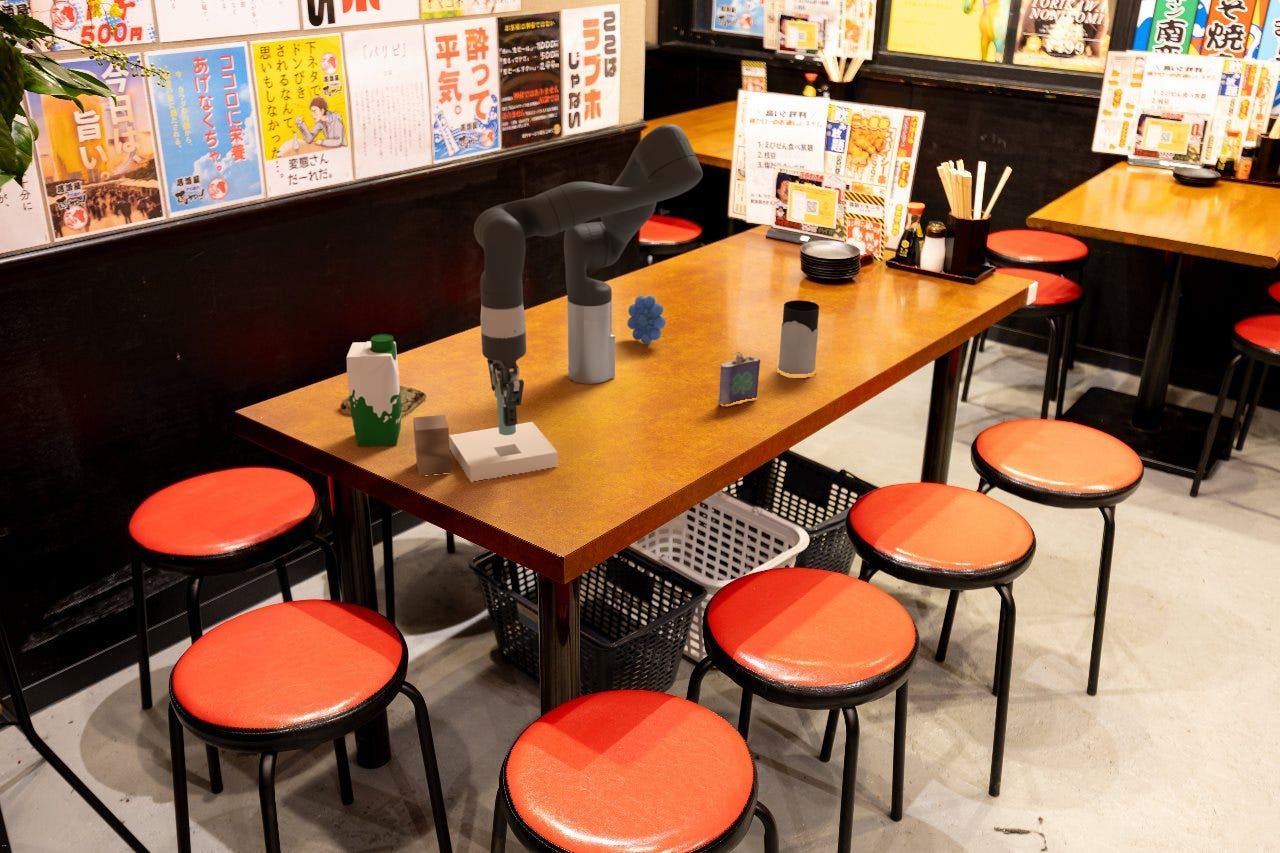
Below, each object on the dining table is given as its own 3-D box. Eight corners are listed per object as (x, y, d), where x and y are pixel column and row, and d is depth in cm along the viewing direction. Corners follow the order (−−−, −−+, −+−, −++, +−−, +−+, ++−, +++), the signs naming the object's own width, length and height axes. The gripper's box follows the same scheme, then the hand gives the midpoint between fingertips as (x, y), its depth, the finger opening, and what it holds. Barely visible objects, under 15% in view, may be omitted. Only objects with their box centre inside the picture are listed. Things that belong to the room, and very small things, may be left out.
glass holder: (770, 374, 243) (775, 308, 237) (791, 353, 255) (796, 290, 248) (809, 381, 240) (815, 314, 233) (829, 360, 251) (834, 295, 245)
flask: (723, 409, 226) (725, 359, 221) (714, 404, 228) (717, 354, 224) (760, 400, 230) (763, 351, 226) (751, 395, 232) (754, 346, 228)
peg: (512, 426, 200) (510, 380, 197) (518, 433, 198) (515, 386, 194) (496, 429, 199) (493, 383, 195) (501, 436, 197) (499, 389, 193)
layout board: (532, 436, 213) (532, 421, 211) (557, 467, 201) (557, 452, 200) (450, 449, 207) (449, 435, 206) (470, 482, 195) (470, 467, 194)
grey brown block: (447, 459, 203) (445, 414, 199) (451, 473, 198) (448, 427, 195) (416, 463, 202) (413, 417, 198) (419, 477, 197) (415, 430, 193)
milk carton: (400, 447, 208) (392, 346, 199) (351, 448, 207) (340, 347, 198) (405, 427, 215) (397, 329, 207) (358, 428, 215) (348, 330, 206)
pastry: (331, 398, 229) (330, 384, 228) (415, 385, 236) (414, 372, 234) (349, 430, 215) (347, 416, 214) (437, 416, 221) (436, 402, 220)
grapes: (676, 346, 258) (678, 296, 253) (656, 353, 253) (657, 302, 248) (641, 333, 265) (642, 284, 260) (620, 340, 261) (621, 290, 256)
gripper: (537, 338, 186) (540, 433, 193) (511, 313, 198) (515, 403, 205) (494, 344, 183) (498, 440, 191) (470, 318, 195) (475, 409, 202)
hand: (507, 420), depth 198 cm, fingers closed on peg, 3 cm apart
